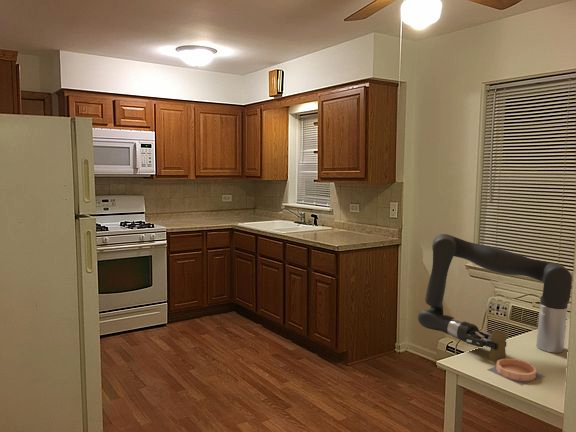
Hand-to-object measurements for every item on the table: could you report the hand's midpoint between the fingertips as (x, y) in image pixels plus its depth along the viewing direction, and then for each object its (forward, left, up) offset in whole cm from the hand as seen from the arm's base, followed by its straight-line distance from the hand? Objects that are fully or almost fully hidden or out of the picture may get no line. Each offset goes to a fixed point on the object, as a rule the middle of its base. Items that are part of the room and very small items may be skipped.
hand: (501, 345), depth 173 cm
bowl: (+4, +9, -6) cm, 11 cm away
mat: (+4, +9, -6) cm, 11 cm away
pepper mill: (0, -1, -6) cm, 6 cm away
